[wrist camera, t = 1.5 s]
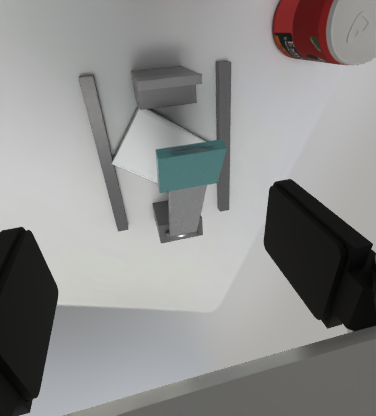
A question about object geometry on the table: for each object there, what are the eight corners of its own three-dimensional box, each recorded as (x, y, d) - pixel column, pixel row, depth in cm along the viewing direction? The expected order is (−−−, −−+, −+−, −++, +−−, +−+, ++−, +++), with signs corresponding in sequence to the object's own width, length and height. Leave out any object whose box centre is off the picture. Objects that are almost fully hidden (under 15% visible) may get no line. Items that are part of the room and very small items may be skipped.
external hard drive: (139, 103, 34) (218, 147, 39) (111, 160, 37) (189, 194, 42) (140, 105, 32) (222, 151, 38) (111, 164, 35) (191, 199, 41)
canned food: (260, 48, 34) (315, 53, 25) (288, -33, 30) (364, -62, 21) (310, 65, 37) (376, 75, 28) (341, -8, 33) (429, -24, 24)
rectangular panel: (155, 148, 22) (157, 160, 21) (222, 138, 23) (227, 149, 22) (161, 235, 38) (163, 243, 37) (200, 227, 39) (203, 235, 38)
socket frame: (79, 76, 31) (70, 88, 24) (227, 61, 34) (258, 68, 27) (118, 226, 42) (119, 265, 35) (226, 205, 45) (248, 237, 38)
